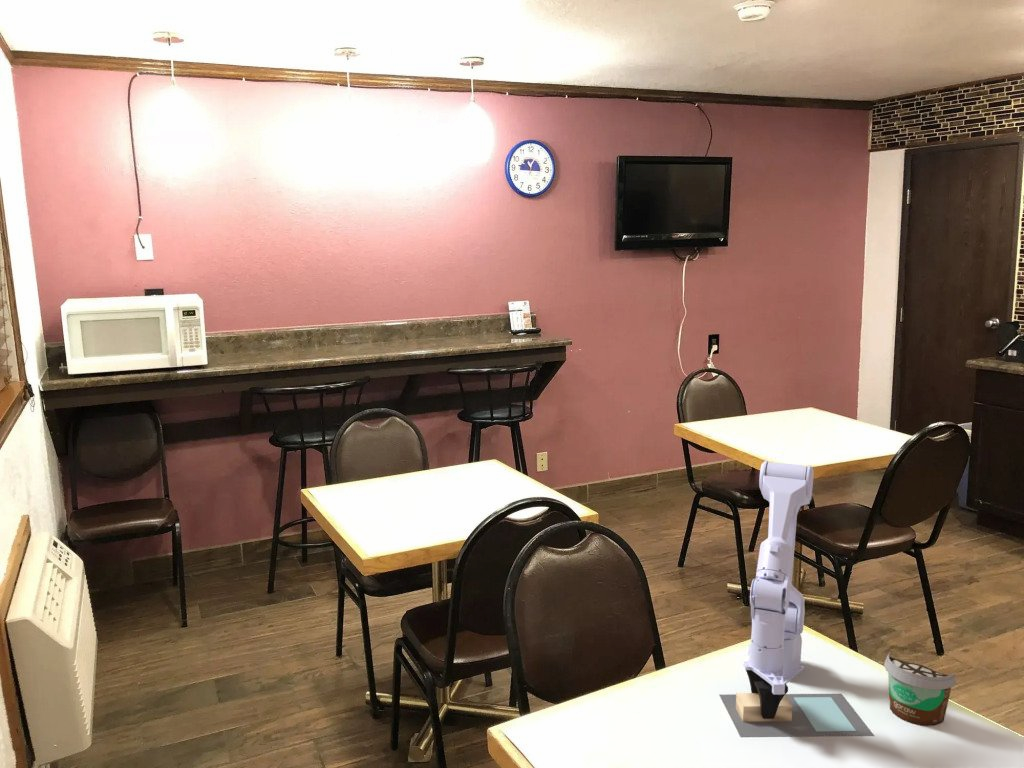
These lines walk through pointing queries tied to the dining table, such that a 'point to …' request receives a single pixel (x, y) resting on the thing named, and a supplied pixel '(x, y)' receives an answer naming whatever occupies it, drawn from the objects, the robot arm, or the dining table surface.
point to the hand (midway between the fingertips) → (763, 710)
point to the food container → (918, 692)
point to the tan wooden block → (752, 712)
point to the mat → (804, 718)
